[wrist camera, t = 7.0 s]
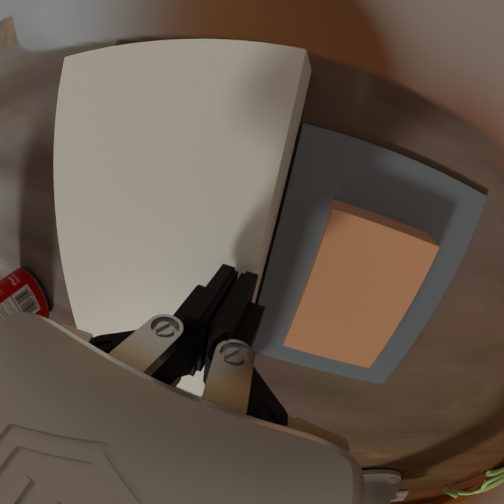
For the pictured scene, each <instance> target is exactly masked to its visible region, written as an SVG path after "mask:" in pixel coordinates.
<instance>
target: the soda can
mask: <svg viewBox="0 0 504 504" xmlns="http://www.w3.org/2000/svg"><path fill="white" fill-rule="evenodd" d="M16 312H29V313H33V314H37V315H40V316H43V317H45V318H47V319H48V317H49V307H48V301H47V298H46V295H45V293H44V290H43V289H42V287H41V285H40V284H39V282H38V281H37V279H36V278H35V277H34V276H33V275H32V274H30V273H29V272H28V271H27V270H25V269H23V268H19V269H17V270H15V271H13V272H12V273H10V274H9V275H7V276H6V277H4V278H3V279H2V280H0V321H2V320H3V319H4V318H6V317H7V316H9V315H11V314H13V313H16Z"/></svg>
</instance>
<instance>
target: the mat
mask: <svg viewBox="0 0 504 504" xmlns="http://www.w3.org/2000/svg"><path fill="white" fill-rule="evenodd" d="M332 199H335V200H338V201H341V202H344V203H347V204H350V205H353V206H356V207H359V208H362V209H365V210H368V211H371V212H373V213H376V214H379V215H382V216H385V217H387V218H390V219H393V220H396V221H398V222H401V223H403V224H406V225H409V226H411V227H414V228H416V229H419V230H421V231H424V232H426V233H428V234H429V235H430V236H431V237H432V239H433V240H434V241H435V242H436V243H437V244H438V246H439V247H440V248H439V250H438V252H437V254H436V256H435V258H434V261H433V263H432V265H431V267H430V269H429V271H428V273H427V275H426V277H425V279H424V281H423V283H422V284H421V286H420V288H419V290H418V292H417V294H416V296H415V297H414V299H413V301H412V303H411V304H410V306H409V308H408V310H407V311H406V313H405V315H404V316H403V318H402V320H401V321H400V323H399V325H398V326H397V328H396V329H395V331H394V333H393V334H392V336H391V337H390V339H389V340H388V342H387V343H386V345H385V346H384V348H383V349H382V351H381V352H380V354H379V355H378V356H377V358H376V359H375V361H374V362H373V363H372V365H371V366H370V368H366V367H362V366H358V365H353V364H349V363H345V362H341V361H337V360H333V359H329V358H325V357H322V356H318V355H314V354H311V353H307V352H303V351H300V350H296V349H293V348H290V347H286V346H283V343H284V339H285V335H286V331H287V327H288V324H289V322H290V319H291V316H292V314H293V311H294V309H295V306H296V303H297V301H298V298H299V295H300V292H301V290H302V287H303V284H304V282H305V279H306V276H307V273H308V270H309V267H310V265H311V262H312V259H313V256H314V253H315V250H316V247H317V244H318V241H319V238H320V235H321V232H322V229H323V226H324V223H325V220H326V217H327V213H328V210H329V207H330V204H331V200H332ZM486 199H487V196H485V195H484V194H482V193H480V192H478V191H477V190H475V189H473V188H471V187H469V186H467V185H466V184H464V183H462V182H460V181H458V180H456V179H454V178H452V177H450V176H448V175H446V174H444V173H442V172H440V171H438V170H435V169H433V168H431V167H429V166H427V165H424V164H422V163H420V162H418V161H415V160H413V159H411V158H408V157H406V156H403V155H401V154H398V153H396V152H393V151H391V150H388V149H385V148H383V147H380V146H377V145H374V144H372V143H369V142H366V141H363V140H360V139H357V138H354V137H351V136H347V135H344V134H341V133H338V132H334V131H331V130H327V129H324V128H320V127H317V126H313V125H309V124H305V123H303V126H302V131H301V135H300V139H299V143H298V147H297V152H296V156H295V160H294V164H293V168H292V172H291V176H290V181H289V185H288V189H287V193H286V197H285V201H284V205H283V209H282V213H281V217H280V221H279V224H278V228H277V232H276V236H275V240H274V244H273V248H272V252H271V256H270V259H269V263H268V267H267V271H266V275H265V278H264V282H263V286H262V290H261V293H260V297H259V301H258V304H259V305H262V306H265V310H264V314H263V317H262V320H261V323H260V326H259V329H258V332H257V335H256V338H255V340H254V343H253V346H252V349H253V351H254V352H257V353H260V354H263V355H266V356H270V357H273V358H276V359H280V360H283V361H286V362H290V363H293V364H297V365H301V366H304V367H308V368H312V369H316V370H320V371H324V372H328V373H332V374H336V375H340V376H345V377H349V378H354V379H358V380H363V381H368V382H373V383H378V384H383V383H384V381H385V380H386V379H387V378H388V377H389V375H390V374H391V373H392V371H393V370H394V369H395V368H396V366H397V365H398V364H399V362H400V361H401V360H402V358H403V357H404V356H405V354H406V353H407V352H408V350H409V349H410V347H411V346H412V344H413V343H414V342H415V340H416V339H417V337H418V336H419V334H420V333H421V331H422V330H423V328H424V327H425V325H426V324H427V322H428V320H429V319H430V317H431V316H432V314H433V312H434V311H435V309H436V307H437V306H438V304H439V302H440V300H441V299H442V297H443V295H444V293H445V292H446V290H447V288H448V286H449V284H450V282H451V280H452V279H453V277H454V275H455V273H456V271H457V269H458V267H459V265H460V263H461V261H462V258H463V256H464V254H465V252H466V250H467V248H468V245H469V243H470V241H471V238H472V236H473V234H474V231H475V229H476V226H477V224H478V221H479V218H480V216H481V213H482V210H483V207H484V205H485V202H486Z"/></svg>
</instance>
